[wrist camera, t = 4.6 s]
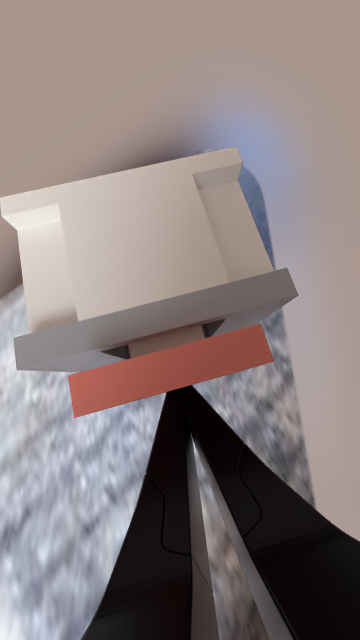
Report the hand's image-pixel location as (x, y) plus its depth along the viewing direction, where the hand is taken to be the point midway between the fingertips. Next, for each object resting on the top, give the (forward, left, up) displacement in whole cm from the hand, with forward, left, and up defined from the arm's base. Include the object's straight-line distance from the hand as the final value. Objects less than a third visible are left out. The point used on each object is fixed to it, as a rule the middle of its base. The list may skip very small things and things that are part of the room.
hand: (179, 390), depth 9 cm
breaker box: (+5, -3, -8) cm, 10 cm away
